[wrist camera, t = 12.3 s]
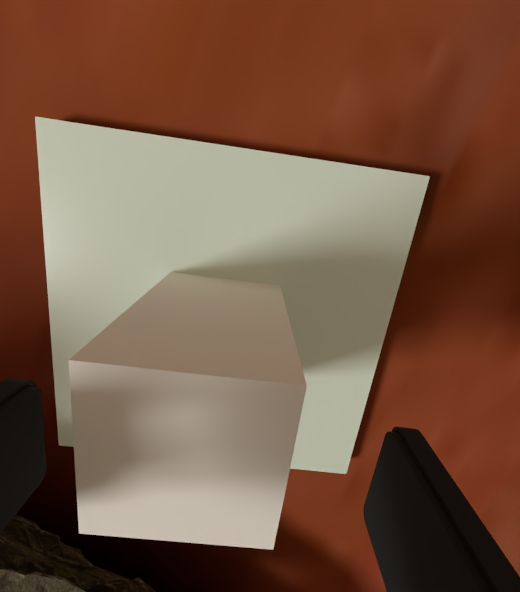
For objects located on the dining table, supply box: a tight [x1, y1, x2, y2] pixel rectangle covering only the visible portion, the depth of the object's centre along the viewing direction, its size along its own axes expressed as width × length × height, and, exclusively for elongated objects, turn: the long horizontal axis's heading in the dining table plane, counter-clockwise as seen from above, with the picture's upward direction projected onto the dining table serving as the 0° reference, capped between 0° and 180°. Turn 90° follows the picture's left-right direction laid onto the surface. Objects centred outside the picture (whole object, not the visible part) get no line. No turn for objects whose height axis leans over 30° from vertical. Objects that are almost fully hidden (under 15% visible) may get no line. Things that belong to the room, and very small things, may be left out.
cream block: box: [69, 272, 307, 550], centre depth 11 cm, size 5×5×8 cm
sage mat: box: [35, 117, 430, 474], centre depth 15 cm, size 16×16×1 cm
